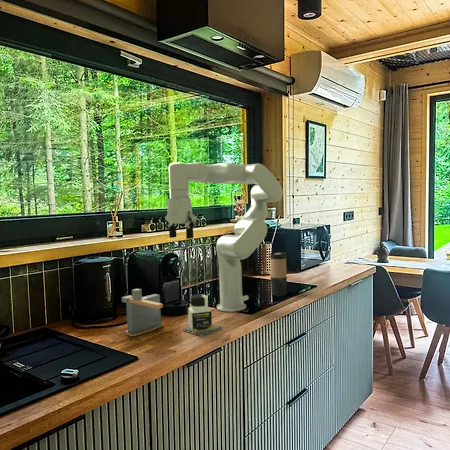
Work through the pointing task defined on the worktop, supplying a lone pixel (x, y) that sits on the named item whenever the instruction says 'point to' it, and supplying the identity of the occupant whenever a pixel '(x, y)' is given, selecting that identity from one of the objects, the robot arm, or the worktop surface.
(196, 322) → the medicine bottle
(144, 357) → the worktop surface
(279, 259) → the travel mug
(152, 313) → the rail
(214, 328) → the slate coaster
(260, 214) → the robot arm
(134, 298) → the bar
